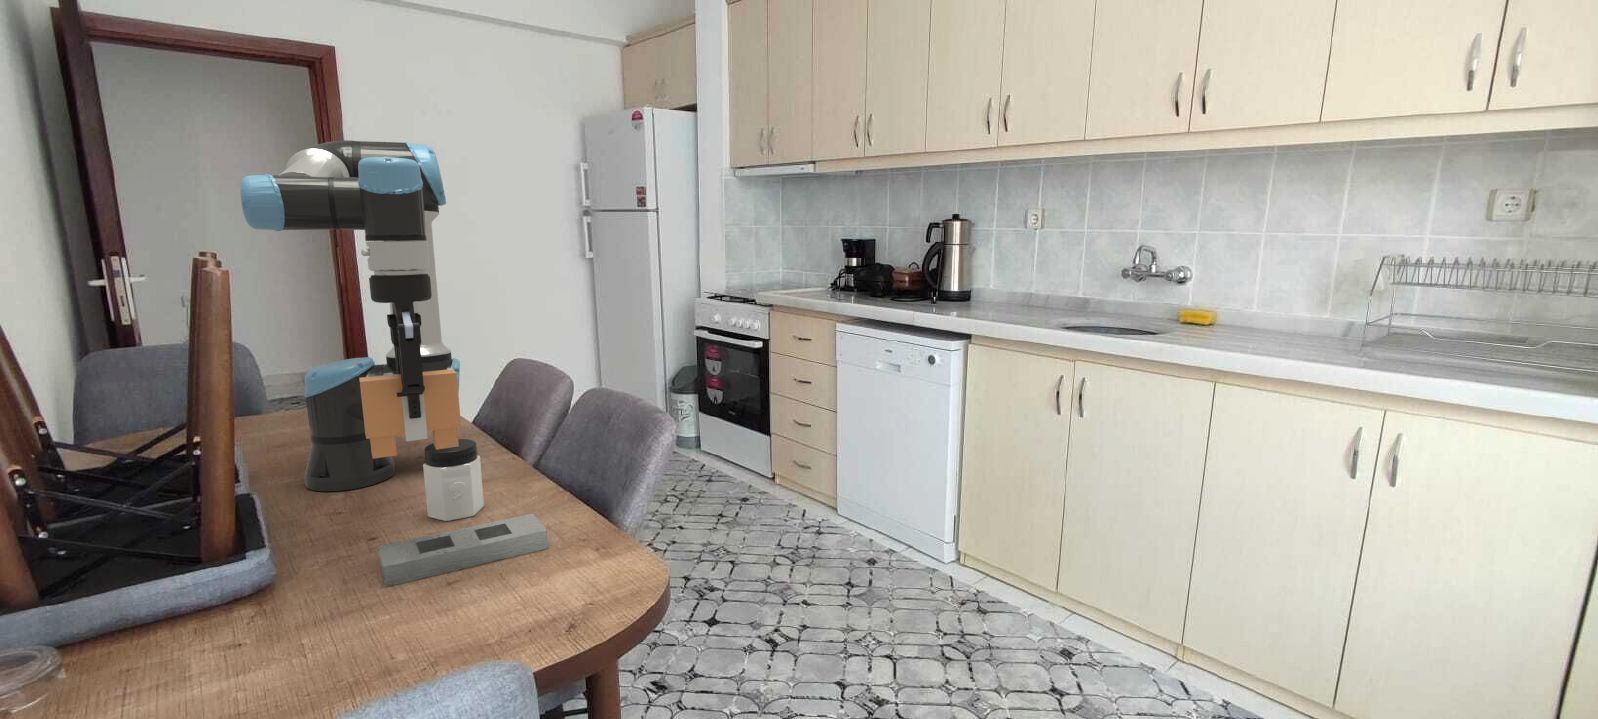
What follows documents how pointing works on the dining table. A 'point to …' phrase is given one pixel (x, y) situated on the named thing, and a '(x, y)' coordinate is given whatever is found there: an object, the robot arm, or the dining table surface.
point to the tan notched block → (388, 412)
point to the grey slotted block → (460, 549)
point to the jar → (453, 481)
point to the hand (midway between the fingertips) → (415, 435)
